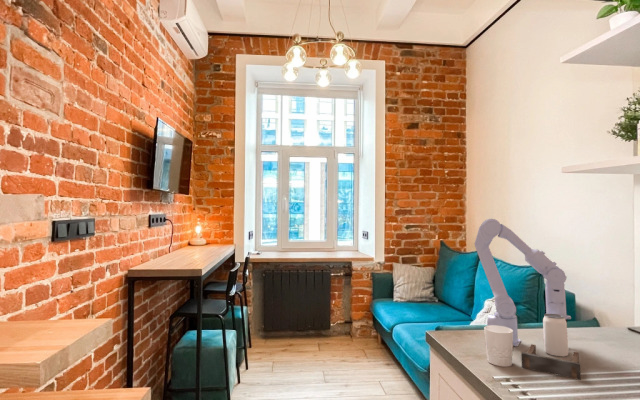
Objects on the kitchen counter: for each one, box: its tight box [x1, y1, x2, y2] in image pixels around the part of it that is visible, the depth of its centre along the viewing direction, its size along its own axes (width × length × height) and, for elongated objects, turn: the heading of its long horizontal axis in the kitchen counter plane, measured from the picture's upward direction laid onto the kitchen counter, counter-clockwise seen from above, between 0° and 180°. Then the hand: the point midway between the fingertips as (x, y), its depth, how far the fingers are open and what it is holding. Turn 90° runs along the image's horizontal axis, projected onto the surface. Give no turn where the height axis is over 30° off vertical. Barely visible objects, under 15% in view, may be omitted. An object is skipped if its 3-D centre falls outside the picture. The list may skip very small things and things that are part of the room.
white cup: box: [483, 325, 514, 368], centre depth 109 cm, size 8×8×10 cm
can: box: [542, 313, 569, 358], centre depth 116 cm, size 6×6×12 cm
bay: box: [521, 343, 582, 381], centre depth 106 cm, size 14×14×4 cm
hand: (557, 342), depth 121 cm, fingers open, 4 cm apart
